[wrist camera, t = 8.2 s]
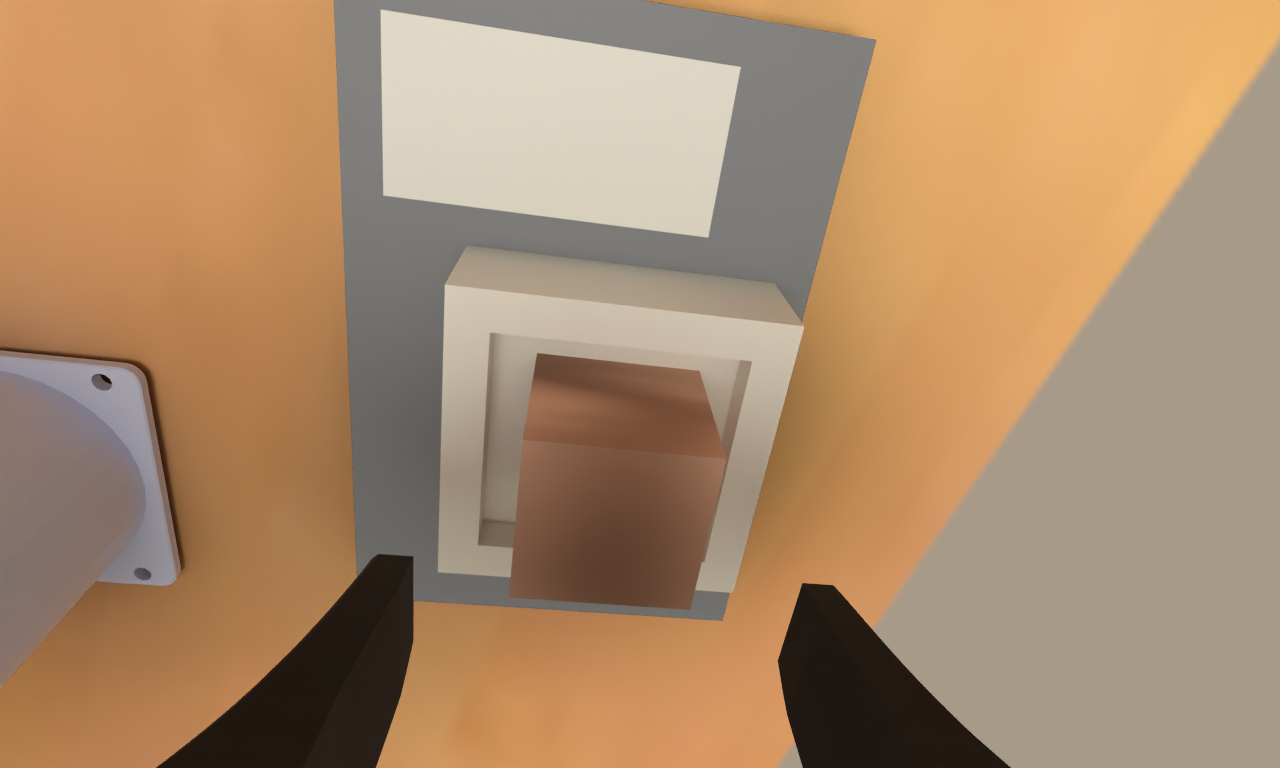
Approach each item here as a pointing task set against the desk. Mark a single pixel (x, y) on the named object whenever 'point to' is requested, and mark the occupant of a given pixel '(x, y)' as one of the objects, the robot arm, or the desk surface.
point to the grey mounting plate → (558, 195)
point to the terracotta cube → (614, 484)
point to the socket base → (612, 331)
